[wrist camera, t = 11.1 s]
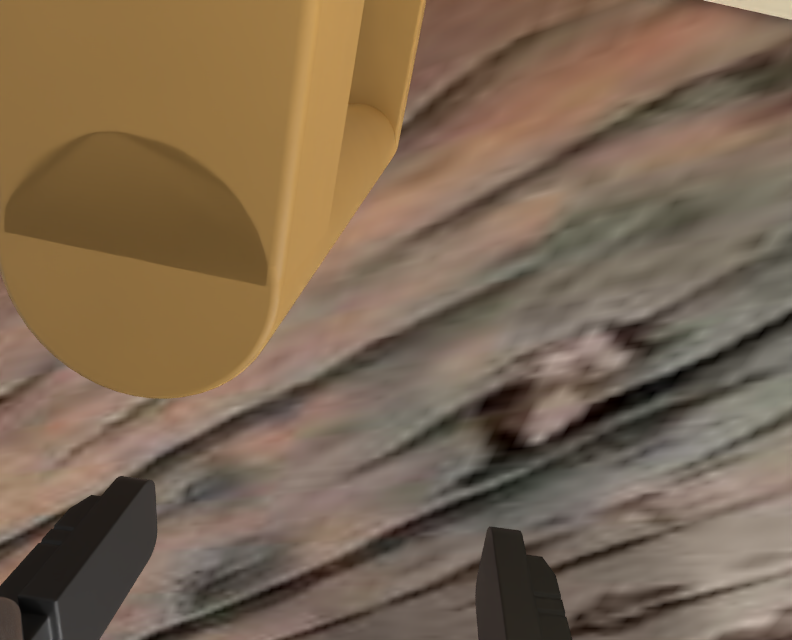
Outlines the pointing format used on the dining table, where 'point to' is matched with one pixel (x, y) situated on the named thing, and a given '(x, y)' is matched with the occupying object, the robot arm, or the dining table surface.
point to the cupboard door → (190, 169)
